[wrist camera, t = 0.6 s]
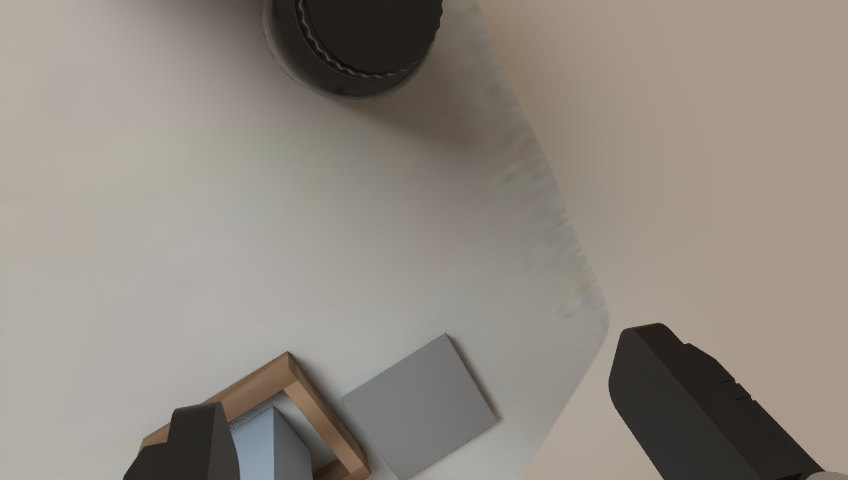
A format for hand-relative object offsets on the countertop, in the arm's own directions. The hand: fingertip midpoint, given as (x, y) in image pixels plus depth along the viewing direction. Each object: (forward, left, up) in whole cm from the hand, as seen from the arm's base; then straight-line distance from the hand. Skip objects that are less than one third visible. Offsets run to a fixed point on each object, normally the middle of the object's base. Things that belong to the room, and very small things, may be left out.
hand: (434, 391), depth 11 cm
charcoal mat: (+17, -3, -22) cm, 28 cm away
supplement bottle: (-7, +4, -22) cm, 23 cm away
